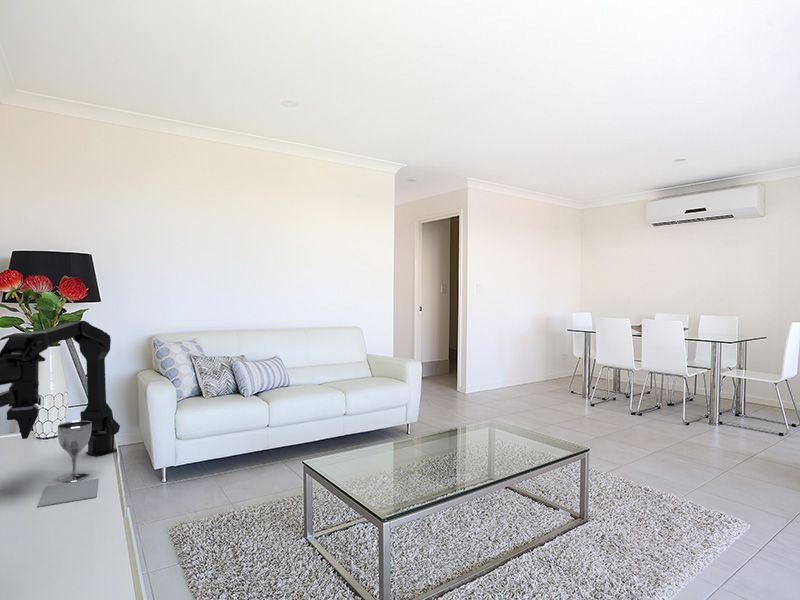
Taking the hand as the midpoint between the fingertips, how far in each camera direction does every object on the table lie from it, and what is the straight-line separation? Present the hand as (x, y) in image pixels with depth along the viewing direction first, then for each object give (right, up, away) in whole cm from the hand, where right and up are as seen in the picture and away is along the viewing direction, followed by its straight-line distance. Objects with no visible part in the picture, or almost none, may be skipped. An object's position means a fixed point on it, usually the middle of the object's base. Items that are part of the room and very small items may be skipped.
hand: (25, 438), depth 128 cm
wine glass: (+9, -13, +6) cm, 17 cm away
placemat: (+15, -13, -4) cm, 20 cm away
